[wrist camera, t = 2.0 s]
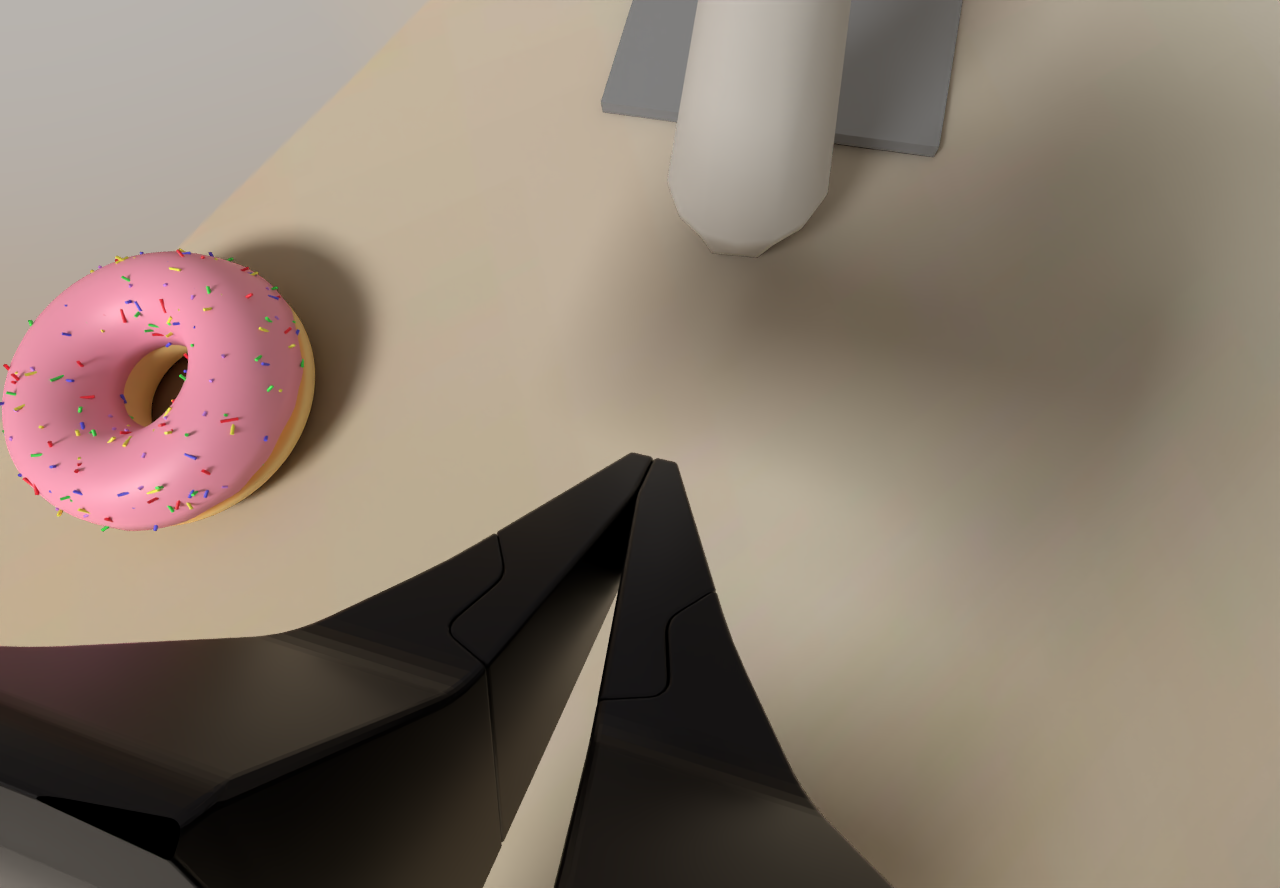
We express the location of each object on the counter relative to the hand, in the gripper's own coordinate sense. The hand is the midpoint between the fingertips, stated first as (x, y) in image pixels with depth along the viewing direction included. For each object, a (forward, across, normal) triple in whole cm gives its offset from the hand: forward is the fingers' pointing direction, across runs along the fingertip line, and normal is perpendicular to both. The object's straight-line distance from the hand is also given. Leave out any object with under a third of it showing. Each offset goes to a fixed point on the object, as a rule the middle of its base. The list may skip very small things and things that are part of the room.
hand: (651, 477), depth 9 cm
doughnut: (+7, +20, +7) cm, 22 cm away
